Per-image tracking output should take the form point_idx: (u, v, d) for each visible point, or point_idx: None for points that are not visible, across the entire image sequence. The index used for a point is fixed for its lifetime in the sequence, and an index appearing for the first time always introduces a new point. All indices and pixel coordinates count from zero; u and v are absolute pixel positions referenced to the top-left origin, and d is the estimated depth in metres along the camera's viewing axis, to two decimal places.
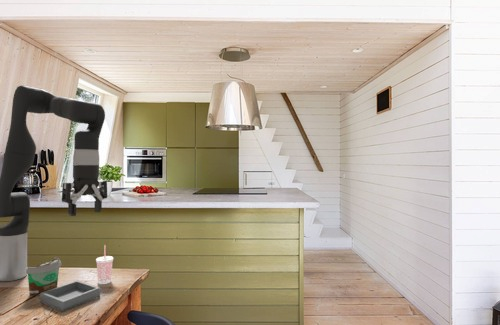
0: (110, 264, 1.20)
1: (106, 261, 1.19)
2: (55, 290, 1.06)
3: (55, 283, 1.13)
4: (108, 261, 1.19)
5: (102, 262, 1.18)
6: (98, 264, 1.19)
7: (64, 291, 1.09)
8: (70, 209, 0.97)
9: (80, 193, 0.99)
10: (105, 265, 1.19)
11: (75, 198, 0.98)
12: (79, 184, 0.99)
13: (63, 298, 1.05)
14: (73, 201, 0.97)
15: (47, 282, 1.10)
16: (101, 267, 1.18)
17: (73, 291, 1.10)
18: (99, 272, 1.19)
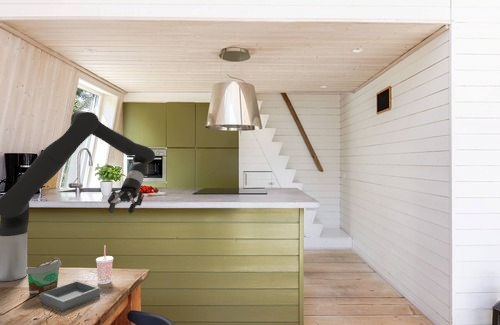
0: (110, 264, 1.20)
1: (106, 261, 1.19)
2: (55, 290, 1.06)
3: (55, 283, 1.13)
4: (108, 261, 1.19)
5: (102, 262, 1.18)
6: (98, 264, 1.19)
7: (64, 291, 1.09)
8: (133, 209, 1.33)
9: None
10: (105, 265, 1.19)
11: None
12: None
13: (63, 298, 1.05)
14: None
15: (47, 282, 1.10)
16: (101, 267, 1.18)
17: (73, 291, 1.10)
18: (99, 272, 1.19)
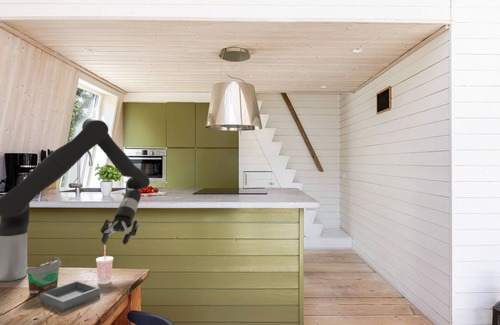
0: (110, 264, 1.20)
1: (106, 261, 1.19)
2: (55, 290, 1.06)
3: (55, 283, 1.13)
4: (108, 261, 1.19)
5: (102, 262, 1.18)
6: (98, 264, 1.19)
7: (64, 291, 1.09)
8: (128, 239, 1.29)
9: None
10: (105, 265, 1.19)
11: None
12: None
13: (63, 298, 1.05)
14: None
15: (47, 282, 1.10)
16: (101, 267, 1.18)
17: (73, 291, 1.10)
18: (99, 272, 1.19)
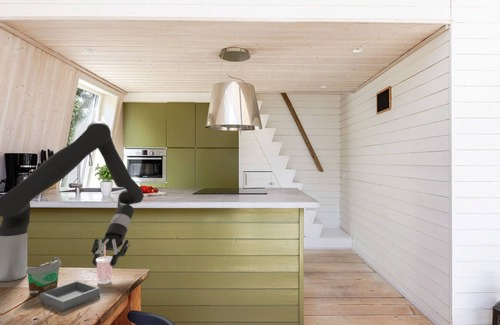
0: None
1: (106, 261, 1.19)
2: (55, 290, 1.06)
3: (55, 283, 1.13)
4: (108, 261, 1.19)
5: (102, 262, 1.18)
6: (98, 264, 1.19)
7: (64, 291, 1.09)
8: (116, 260, 1.21)
9: None
10: (105, 265, 1.19)
11: None
12: None
13: (63, 298, 1.05)
14: None
15: (47, 282, 1.10)
16: (101, 267, 1.18)
17: (73, 291, 1.10)
18: (99, 272, 1.19)
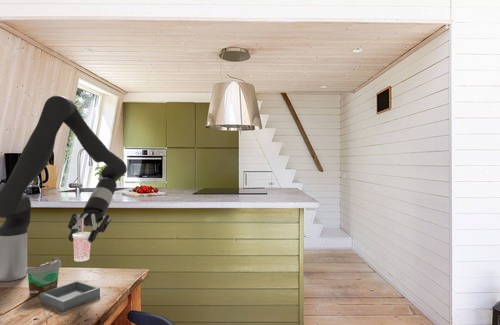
0: None
1: (84, 237, 1.08)
2: (55, 290, 1.06)
3: (55, 283, 1.13)
4: (86, 236, 1.08)
5: (79, 237, 1.07)
6: (75, 240, 1.08)
7: (64, 291, 1.09)
8: (95, 236, 1.10)
9: None
10: (82, 241, 1.08)
11: None
12: None
13: (63, 298, 1.05)
14: None
15: (47, 282, 1.10)
16: (78, 243, 1.07)
17: (73, 291, 1.10)
18: (76, 248, 1.08)
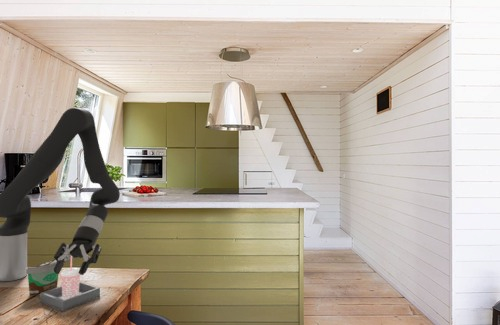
0: (77, 278, 1.04)
1: (72, 275, 1.03)
2: (55, 290, 1.06)
3: (55, 283, 1.13)
4: (74, 274, 1.03)
5: (67, 276, 1.02)
6: (62, 278, 1.03)
7: None
8: (86, 268, 1.05)
9: None
10: (70, 279, 1.03)
11: None
12: None
13: None
14: None
15: (47, 282, 1.10)
16: (66, 281, 1.02)
17: None
18: (64, 287, 1.03)
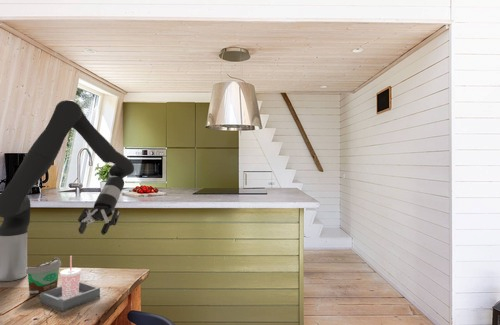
0: (77, 278, 1.04)
1: (72, 274, 1.03)
2: (55, 290, 1.06)
3: (55, 283, 1.13)
4: (74, 274, 1.03)
5: (67, 276, 1.02)
6: (62, 278, 1.03)
7: None
8: (107, 229, 1.19)
9: None
10: (70, 279, 1.03)
11: None
12: None
13: None
14: None
15: (47, 282, 1.10)
16: (66, 281, 1.03)
17: None
18: (63, 287, 1.03)
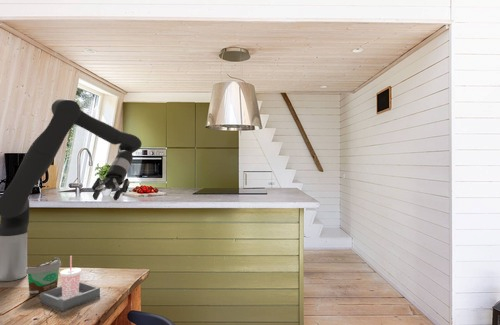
0: (77, 278, 1.04)
1: (72, 274, 1.03)
2: (55, 290, 1.06)
3: (55, 283, 1.13)
4: (74, 274, 1.03)
5: (67, 276, 1.02)
6: (62, 278, 1.03)
7: None
8: (119, 195, 1.30)
9: None
10: (70, 279, 1.03)
11: None
12: None
13: None
14: None
15: (47, 282, 1.10)
16: (66, 281, 1.03)
17: None
18: (63, 287, 1.03)
